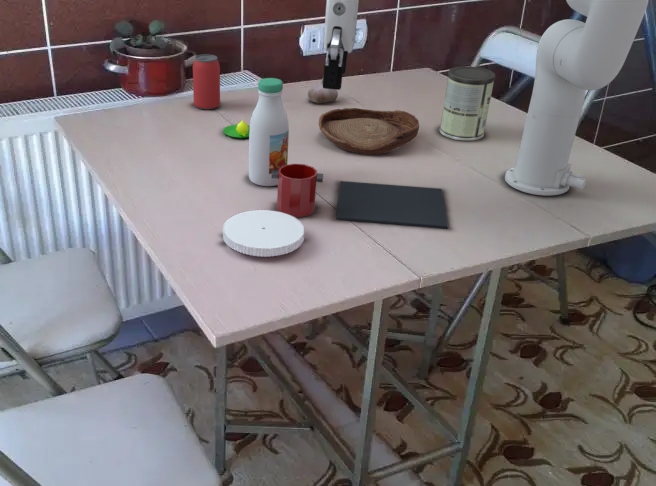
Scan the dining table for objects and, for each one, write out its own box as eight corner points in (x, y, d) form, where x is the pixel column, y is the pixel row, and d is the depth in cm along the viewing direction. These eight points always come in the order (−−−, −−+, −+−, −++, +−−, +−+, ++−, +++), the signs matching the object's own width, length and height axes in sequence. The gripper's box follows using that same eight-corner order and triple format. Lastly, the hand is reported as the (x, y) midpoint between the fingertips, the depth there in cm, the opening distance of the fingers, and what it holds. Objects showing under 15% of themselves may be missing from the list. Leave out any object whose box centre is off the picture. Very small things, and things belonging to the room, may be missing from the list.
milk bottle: (254, 189, 147) (256, 88, 136) (244, 173, 153) (245, 76, 142) (291, 185, 149) (296, 85, 138) (280, 169, 155) (284, 73, 144)
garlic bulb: (342, 100, 192) (344, 69, 188) (328, 108, 187) (331, 76, 182) (316, 94, 195) (318, 64, 191) (302, 102, 190) (304, 71, 186)
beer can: (191, 102, 188) (189, 54, 182) (216, 100, 190) (215, 52, 183) (197, 111, 183) (196, 62, 176) (223, 109, 185) (222, 60, 178)
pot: (322, 202, 143) (324, 165, 138) (319, 219, 137) (322, 181, 133) (273, 198, 144) (274, 162, 139) (268, 214, 138) (269, 177, 134)
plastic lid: (214, 256, 125) (214, 243, 123) (232, 218, 136) (232, 206, 135) (297, 266, 123) (298, 252, 121) (308, 226, 134) (309, 214, 133)
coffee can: (436, 123, 179) (446, 64, 171) (480, 126, 178) (491, 67, 171) (441, 139, 171) (451, 78, 163) (487, 142, 170) (499, 80, 162)
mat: (441, 190, 148) (441, 188, 148) (447, 228, 135) (447, 226, 134) (340, 183, 150) (340, 180, 150) (336, 219, 137) (336, 217, 136)
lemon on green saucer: (262, 137, 170) (263, 125, 168) (229, 141, 167) (229, 129, 166) (250, 125, 176) (250, 113, 174) (218, 129, 173) (218, 117, 172)
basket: (321, 156, 161) (323, 134, 158) (312, 123, 178) (314, 102, 175) (424, 156, 162) (428, 135, 159) (406, 123, 179) (409, 103, 176)
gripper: (363, -10, 117) (351, 97, 126) (369, -29, 131) (357, 68, 141) (316, -14, 118) (307, 93, 127) (326, -32, 132) (318, 65, 142)
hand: (334, 80), depth 134 cm, fingers open, 9 cm apart
